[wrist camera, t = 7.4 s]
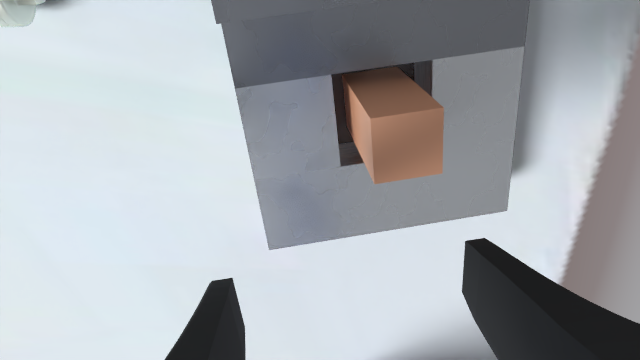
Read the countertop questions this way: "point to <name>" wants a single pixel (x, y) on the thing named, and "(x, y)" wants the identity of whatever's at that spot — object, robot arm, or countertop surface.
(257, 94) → the grey square base
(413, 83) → the pin
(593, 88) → the countertop surface
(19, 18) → the pipe fitting
